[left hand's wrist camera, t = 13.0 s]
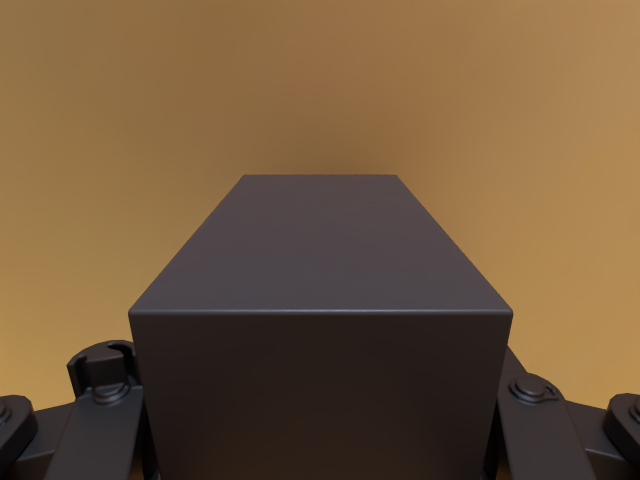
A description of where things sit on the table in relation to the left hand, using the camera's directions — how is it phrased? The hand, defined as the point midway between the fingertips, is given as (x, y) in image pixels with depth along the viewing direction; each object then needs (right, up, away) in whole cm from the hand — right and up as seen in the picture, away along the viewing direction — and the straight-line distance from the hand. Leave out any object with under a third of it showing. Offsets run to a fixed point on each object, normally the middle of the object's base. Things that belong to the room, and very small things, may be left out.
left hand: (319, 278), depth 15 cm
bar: (0, -13, +6) cm, 14 cm away
